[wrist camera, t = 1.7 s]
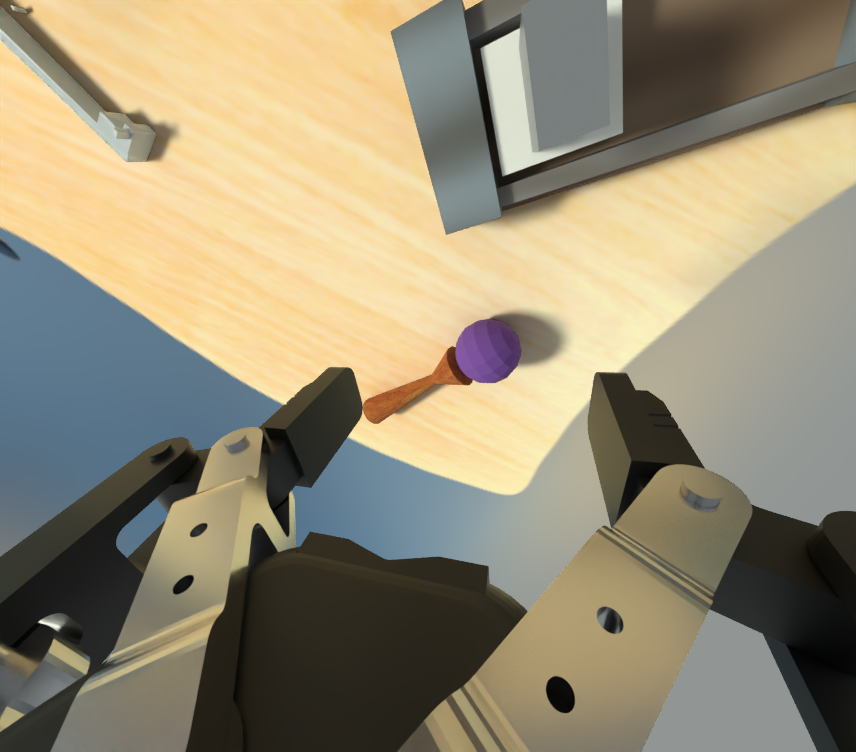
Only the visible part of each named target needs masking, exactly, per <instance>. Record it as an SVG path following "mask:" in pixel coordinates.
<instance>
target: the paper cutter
mask: <svg viewBox="0 0 856 752" xmlns="http://www.w3.org/2000/svg"><path fill="white" fill-rule="evenodd" d="M11 8H12V10H14V11H18V12H21V13H24V14H27V11H26V10H25V9H23V8H20V7H16V6H13V5H11ZM0 40H1V41H2V42H3V43H4V44H5V45H6V46H7V47H8V48H9V49H10V50H11V51H12V52H13V53H14V54H15V55H16V56H17V57H19V58H20V59H21V60H22V61H23V62H24V63H25V64H26V65H27V66H28V67H29V68H30V69H31V70H32V71H33V72H34V73H35V74H36V75H37V76H38V77H39V78H40V79H41V80H42V81H43V82H44V83H45V84H46V85H47V86H48V87H49V88H50V89H51V90H53V91H54V92H55V93H56V94H57V95H58V96H59V97H60V98H61V99H62V100H63V101H64V102H65V103H66V104H67V105H68V106H69V107H70V108H71V109H72V110H73V111H74V112H75V113H76V114H77V115H78V116H79V117H80V118H81V119H82V120H83V121H84V122H85V123H87V124H88V125H89V126H90V127H91V128H92V129H93V130H94V131H95V132H96V133H97V134H98V135H99V136H100V137H101V138H102V139H103V140H104V141H105V142H106V143H107V144H108V145H109V146H110V147H111V148H112V149H113V150H114V151H115V152H116V153H117V154H118V155H119V156H120V157H122V158H123V159H124V160H125V161H126V162H146V161H147V158H148V156H149V153H150V150H151V148H152V145H153V142H154V139H155V137H156V133H155V132H154V131H153V130H152V129H151V128H150V127H149V126H148V125H143V124H134V123H133V122H132V121H131V120H130V119H129V118H128V117H127V116H126V115H125V114H122V113H113V112H106V111H105V110H104V109H103V108H102V107H101V106H100V105H99V104H98V103H97V102H96V101H95V100H94V99H93V98H92V97H91V96H90V95H89V94H88V93H87V92H86V91H85V90H84V89H83V88H82V87H81V86H80V85H79V84H78V83H77V82H76V81H75V80H74V79H73V78H72V77H71V76H70V75H69V74H68V73H67V72H66V71H65V70H64V69H63V68H62V67H61V66H60V65H59V64H58V63H57V62H56V61H55V60H54V59H53V58H52V57H51V56H50V55H49V54H48V53H47V52H46V51H45V50H44V49H43V48H42V47H41V46H40V45H39V44H38V43H37V42H36V41H35V40H34V39H33V38H32V37H31V36H30V35H29V34H28V33H27V32H26V31H25V30H24V29H23V28H22V27H21V26H20V25H19V24H18V23H17V22H16V21H15V20H14V19H13V18H12V17H11V16H10V15H9V14H8V13H7V12H6V11H5V10H4V9H3V8H2V7H1V6H0Z"/></svg>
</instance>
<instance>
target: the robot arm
mask: <svg viewBox="0 0 856 752" xmlns="http://www.w3.org/2000/svg"><path fill="white" fill-rule="evenodd" d="M362 409H363V406H362V401H361V397H360V393H359V390H358V386H357V383H356V379H355V375H354V372H353V371H352V369H351V368H347V367H330V368H328V369H327V370H325V371H324V372H323V373H322V374H321V375H320V376H319V377H318V378H317V379H316V380H315V381H314V382H312V383H310V384H309V385H307V386H305V387H303V388H302V389H301V390H300V391H299V392H298V393H297V394H296V395H295V397H292V398H291V399H290V400H289V401H288V402H287V405H284V406H282V408H280V409H279V410H278V411H277V412H276V413H275V414H274V415H273V416H271V418H269V419H268V420H267V421H266V422H265V423H264V424H263V425H262V426H260V427H259V428H256V427H248V428H243V429H239V430H236V431H234V432H232V433H230V434H228V435H226V436H224V437H223V438H221V439H220V440H219V441H217V442H216V443H215V444H214V445H213V447H212V448H210V449H204V450H198V451H195V450H194V448H193V447H192V445H191V443H190V442H189V440H188V439H186V438H182V437H181V438H180V437H179V438H173V439H169V440H166V441H163V442H160V443H158V444H156V445H154V446H152V447H150V448H149V449H147V450H145V451H144V452H142V453H141V454H140V455H138V456H137V457H136V458H134V459H133V460H132V461H130V462H129V463H128V464H126V465H125V466H124V467H122V468H121V469H119V470H118V471H117V472H115V473H114V474H112V475H111V476H110V477H108V478H107V479H106V480H104V481H103V482H102V483H100V484H99V485H98V486H96V487H95V488H94V489H92V490H91V491H89V492H88V493H87V494H85V495H84V496H83V497H81V498H80V499H78V500H77V501H76V502H75V503H73V504H72V505H70V506H69V507H68V508H66V509H65V510H63V511H62V512H61V513H60V514H58V515H57V516H55V517H54V518H53V519H51V520H50V521H48V522H47V523H46V524H44V525H43V526H42V527H41V528H39V529H38V530H36V531H35V532H33V533H32V534H31V535H29V536H28V537H27V538H25V539H24V540H23V541H22V542H20V543H19V544H17V545H16V546H15V547H13V548H12V549H10V550H9V551H8V552H6V553H5V554H4V555H2V556H1V557H0V752H641V751H642V749H643V747H644V745H645V743H646V741H647V739H648V737H649V735H650V733H651V731H652V728H653V726H654V724H655V722H656V720H657V718H658V716H659V714H660V712H661V710H662V707H663V705H664V703H665V701H666V699H667V697H668V695H669V693H670V691H671V689H672V687H673V684H674V682H675V680H676V678H677V676H678V674H679V672H680V670H681V668H682V666H683V663H684V661H685V659H686V657H687V655H688V653H689V651H690V649H691V647H692V644H693V642H694V640H695V638H696V636H697V634H698V632H699V630H700V628H701V625H702V624H703V622H704V620H705V617H706V615H707V613H708V611H709V609H710V610H713V611H715V612H717V613H719V614H721V615H724V616H726V617H728V618H730V619H732V620H734V621H736V622H739V623H741V624H743V625H745V626H747V627H749V628H752V629H754V630H756V631H758V632H761V633H763V635H764V637H765V640H766V642H767V644H768V646H769V648H770V650H771V652H772V654H773V657H774V659H775V661H776V663H777V665H778V667H779V669H780V672H781V674H782V676H783V678H784V680H785V682H786V685H787V687H788V689H789V691H790V693H791V695H792V698H793V700H794V702H795V704H796V706H797V708H798V710H799V713H800V715H801V717H802V719H803V721H804V723H805V726H806V728H807V730H808V732H809V734H810V736H811V738H812V741H813V743H814V745H815V747H816V749H817V751H818V752H856V512H854V511H838V512H833V513H831V514H828V515H827V516H826V517H825V518H824V519H823V520H822V522H821V523H820V524H819V526H816V525H813V524H810V523H807V522H803V521H800V520H797V519H793V518H790V517H787V516H784V515H780V514H777V513H773V512H771V511H767V510H765V509H762V508H759V507H756V506H754V505H751V503H750V501H749V499H748V498H747V496H746V495H745V494H744V493H743V491H742V490H741V489H739V488H738V487H737V486H736V485H735V484H733V483H732V482H730V481H729V480H727V479H725V478H724V477H722V476H720V475H718V474H716V473H714V472H712V471H709V470H707V469H705V468H704V466H703V465H702V463H701V461H700V460H699V459H698V457H697V455H696V453H695V452H694V450H693V449H692V447H691V445H690V444H689V442H688V441H687V439H686V437H685V436H684V434H683V433H682V431H681V429H678V425H677V423H676V422H675V420H674V418H672V417H671V413H670V412H669V410H668V409H667V407H666V405H665V404H664V402H663V401H661V400H660V399H659V398H657V397H656V396H654V395H653V394H652V393H650V392H649V391H641V390H635V388H634V386H633V384H632V382H631V380H630V379H629V377H628V375H627V374H626V373H609V372H597V373H596V374H595V376H594V381H593V388H592V394H591V401H590V407H589V414H588V434H589V439H590V442H591V447H592V451H593V455H594V459H595V463H596V467H597V471H598V475H599V480H600V484H601V488H602V492H603V495H604V500H605V504H606V508H607V512H608V517H609V521H610V525H611V529H609V528H608V527H606V526H602V527H601V528H600V529H598V530H597V531H596V532H595V533H594V534H593V535H592V537H591V538H590V539H589V540H588V541H587V542H586V544H585V545H584V546H583V547H582V549H581V550H580V551H579V552H578V553H577V554H576V555H575V557H574V558H573V559H572V560H571V562H570V563H569V564H568V565H567V566H566V567H565V568H564V570H563V571H562V572H561V573H560V574H559V576H558V577H557V578H556V579H555V581H554V582H553V583H552V584H551V585H550V586H549V587H548V589H547V590H546V591H545V592H544V593H543V594H542V596H541V597H540V598H539V599H538V600H537V602H536V603H535V604H534V605H533V606H532V607H531V609H530V610H529V611H527V610H526V609H525V608H524V607H523V606H522V605H520V604H519V603H518V602H517V601H516V600H515V599H513V598H512V597H511V596H510V595H508V594H507V593H505V592H504V591H502V590H501V589H499V588H497V587H495V586H493V585H492V584H490V583H489V568H488V566H484V565H478V564H474V563H469V562H464V561H458V560H453V559H448V558H443V557H427V558H413V559H400V560H386V559H383V558H381V557H380V556H378V555H376V554H374V553H372V552H371V551H369V550H367V549H365V548H363V547H361V546H360V545H358V544H356V543H354V542H353V541H351V540H349V539H345V538H340V537H334V536H330V535H324V534H319V533H314V532H309V534H308V536H307V537H306V539H305V540H304V542H303V544H302V545H301V546H300V547H296V535H295V500H294V495H293V493H292V489H293V488H294V486H295V485H296V486H303V487H310V488H311V487H312V486H313V484H314V483H315V482H316V480H317V479H318V477H319V476H320V475H321V473H322V472H323V470H324V469H325V468H326V466H327V465H328V463H329V462H330V461H331V459H332V457H333V456H334V455H335V453H336V452H337V451H338V449H339V448H340V446H341V445H342V444H343V442H344V441H345V439H346V438H347V437H348V435H349V434H350V432H351V431H352V430H353V428H354V427H355V425H356V424H357V423H358V421H359V420H360V418H361V415H362ZM154 499H157V500H158V501H159V503H160V504H161V505H162V506H163V508H164V509H165V510H166V511H167V512H168V516H167V519H166V520H165V521H164V522H163V523H162V524H161V525H160V526H159V527H158V528H157V529H156V530H155V531H154V532H153V533H152V534H151V535H150V536H149V537H148V538H147V539H146V540H145V541H144V542H143V543H142V544H141V545H140V546H139V547H138V548H137V549H136V550H135V551H134V552H133V553H132V554H131V555H130V556H129V557H128V558H126V557H125V556H124V555H123V554H122V553H121V552H120V551H119V550H118V549H117V546H116V539H117V536H118V534H119V532H120V531H121V530H122V528H123V527H124V526H125V525H126V524H128V523H129V522H130V521H131V520H132V519H133V518H134V517H135V516H136V515H138V513H140V512H141V511H142V510H143V509H144V508H145V507H147V506H148V505H149V504H150V503H151V502H152V501H153V500H154ZM38 621H39V623H37V622H38ZM112 651H113V653H112V655H111V656H110V658H109V660H108V661H106V662H104V663H103V661H104V660H105V659H106V658H107V657H108V656H109V654H110V653H111V652H112ZM102 663H103V664H102Z"/></svg>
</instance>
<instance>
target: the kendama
mask: <svg viewBox="0 0 856 752" xmlns="http://www.w3.org/2000/svg"><path fill="white" fill-rule="evenodd" d="M520 355H521V348H520V343H519V339H518V337H517V335H516V333H515V332H514V331H513V330H512V329H511V328H510V327H509V326H508V325H507V324H505V323H503V322H500V321H497V320H493V319H487V320H480V321H477V322H475V323H473V324H472V325H470V326H468V327H467V328H465V329H464V331H463V332H462V334H461V335H460V337H459V338H458V341H457V344H456V348H455V347H450V348H448V350H447V352H446V353H445V355H444V356H443V358H442V360H441V361H440V363H439V364H438V366H437V367H436V369H435V371H434V372H433V374H432V375H430V376H427V377H425V378H422V379H419V380H417V381H414V382H412V383H409V384H406V385H404V386H401V387H398V388H396V389H393V390H390V391H388V392H385V393H382V394H380V395H377V396H375V397H372V398H369V399H367V400H366V401H365V402H364V404H363V411H364V415H365V416H366V418H367V419H368V420H369V421H370V422H372V423H374V424H377V423H380V422H381V421H383V420H384V419H386V418H387V417H389V416H390V415H392V414H393V413H395V412H396V411H398V410H399V409H401V408H402V407H403V406H405V405H406V404H408V403H409V402H411V401H412V400H414V399H415V398H417V397H418V396H420V395H421V394H423V393H424V392H425V391H427V390H428V389H430V388H431V387H433V386H434V385H436V384H452V385H470V384H471V383H472V380H475V381H477V382H479V383H496V382H498V381H501V380H503V379H505V378H507V377H508V376H509V375H510V373H511V372H512V371H513V370H514V369H515V368H516V367H517V365H518V362H519V359H520Z"/></svg>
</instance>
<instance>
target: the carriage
mask: <svg viewBox="0 0 856 752" xmlns="http://www.w3.org/2000/svg"><path fill="white" fill-rule="evenodd" d="M480 50H481V56H482V62H483V68H484V73H485V79H486V85H487V91H488V96H489V102H490V108H491V114H492V120H493V125H494V131H495V137H496V143H497V148H498V154H499V160H500V166H501V171H502V176H505V175H508V174H510V173H513V172H516V171H519V170H521V169H524V168H527V167H530V166H532V165H535V164H538V163H541V162H544V161H546V160H549V159H552V158H555V157H557V156H560V155H563V154H566V153H568V152H571V151H574V150H577V149H579V148H582V147H585V146H588V145H590V144H593V143H596V142H599V141H601V140H604V139H607V138H610V137H613V136H615V135H618V134H621V133H623V68H622V0H531V1H529V2H528V3H526V4H524V5H522V8H521V22H520V28H519V29H517V30H515V31H513V32H511V33H509V34H508V35H506V36H504V37H502V38H500V39H498V40H496V41H494V42H492V43H490V44H488V45H486V46H484V47H482V48H480Z"/></svg>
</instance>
